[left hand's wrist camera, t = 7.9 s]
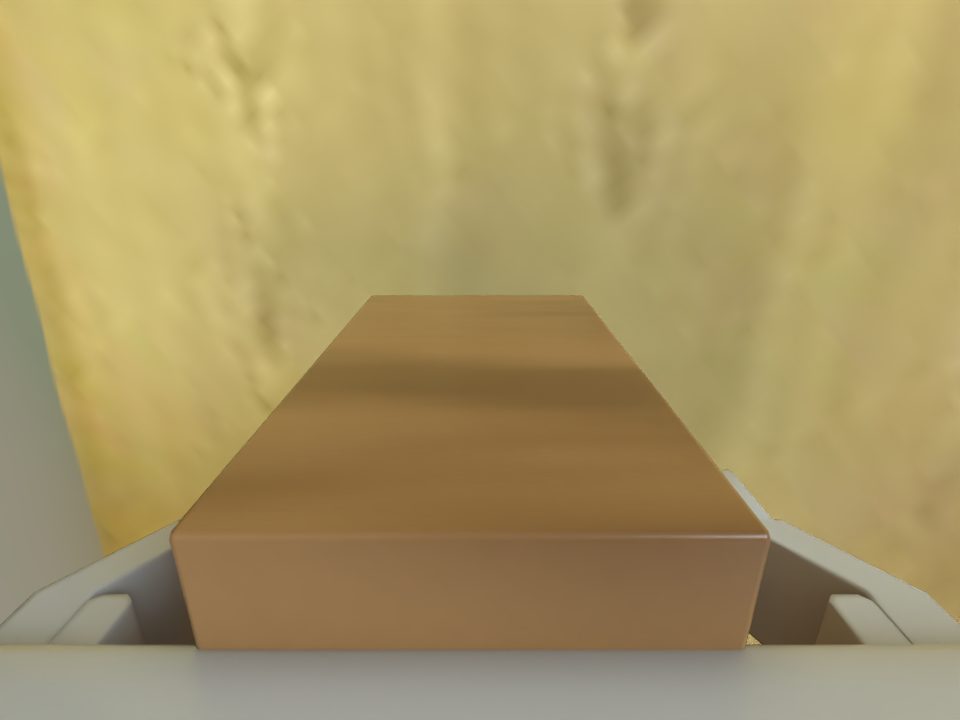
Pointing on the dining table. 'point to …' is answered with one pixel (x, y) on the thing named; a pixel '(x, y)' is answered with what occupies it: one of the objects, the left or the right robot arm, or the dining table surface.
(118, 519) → the dining table surface
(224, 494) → the bar
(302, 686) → the left robot arm
